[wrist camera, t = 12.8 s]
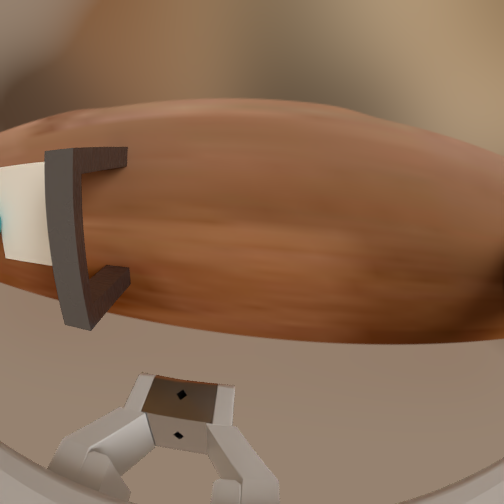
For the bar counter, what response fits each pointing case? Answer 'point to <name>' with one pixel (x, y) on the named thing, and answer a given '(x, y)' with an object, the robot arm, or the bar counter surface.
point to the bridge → (78, 235)
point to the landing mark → (24, 213)
